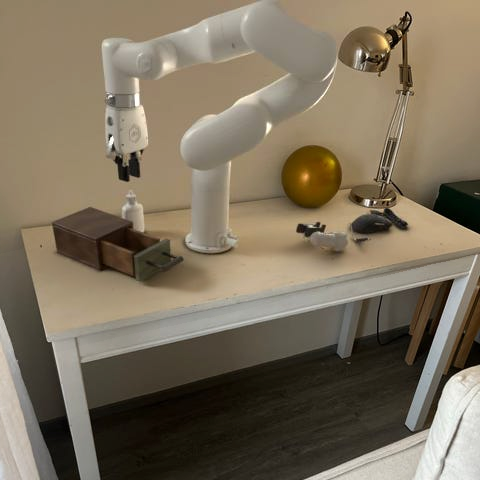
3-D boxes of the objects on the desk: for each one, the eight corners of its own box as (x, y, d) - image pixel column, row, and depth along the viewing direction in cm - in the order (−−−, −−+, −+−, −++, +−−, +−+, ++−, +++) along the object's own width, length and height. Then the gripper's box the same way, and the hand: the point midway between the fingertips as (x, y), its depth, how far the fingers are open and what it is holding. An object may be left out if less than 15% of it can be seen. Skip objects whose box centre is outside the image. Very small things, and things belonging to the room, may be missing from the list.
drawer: (190, 270, 118) (189, 246, 115) (159, 290, 111) (158, 265, 107) (129, 247, 126) (126, 224, 123) (96, 264, 119) (93, 239, 115)
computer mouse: (336, 217, 150) (338, 204, 148) (387, 212, 155) (390, 200, 153) (356, 234, 141) (358, 221, 138) (410, 229, 145) (413, 216, 143)
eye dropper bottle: (145, 236, 134) (142, 192, 127) (124, 237, 133) (120, 194, 126) (143, 229, 137) (141, 186, 130) (122, 230, 136) (118, 187, 129)
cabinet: (135, 251, 127) (133, 221, 122) (99, 270, 118) (95, 239, 113) (93, 235, 133) (90, 206, 128) (57, 252, 124) (51, 222, 120)
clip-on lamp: (347, 242, 143) (292, 235, 136) (354, 220, 141) (298, 212, 133) (370, 257, 134) (312, 251, 126) (378, 234, 131) (319, 227, 124)
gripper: (109, 108, 108) (117, 191, 119) (159, 97, 120) (162, 173, 130) (84, 103, 112) (94, 184, 122) (135, 92, 123) (140, 167, 134)
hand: (129, 177), depth 126 cm, fingers open, 3 cm apart
